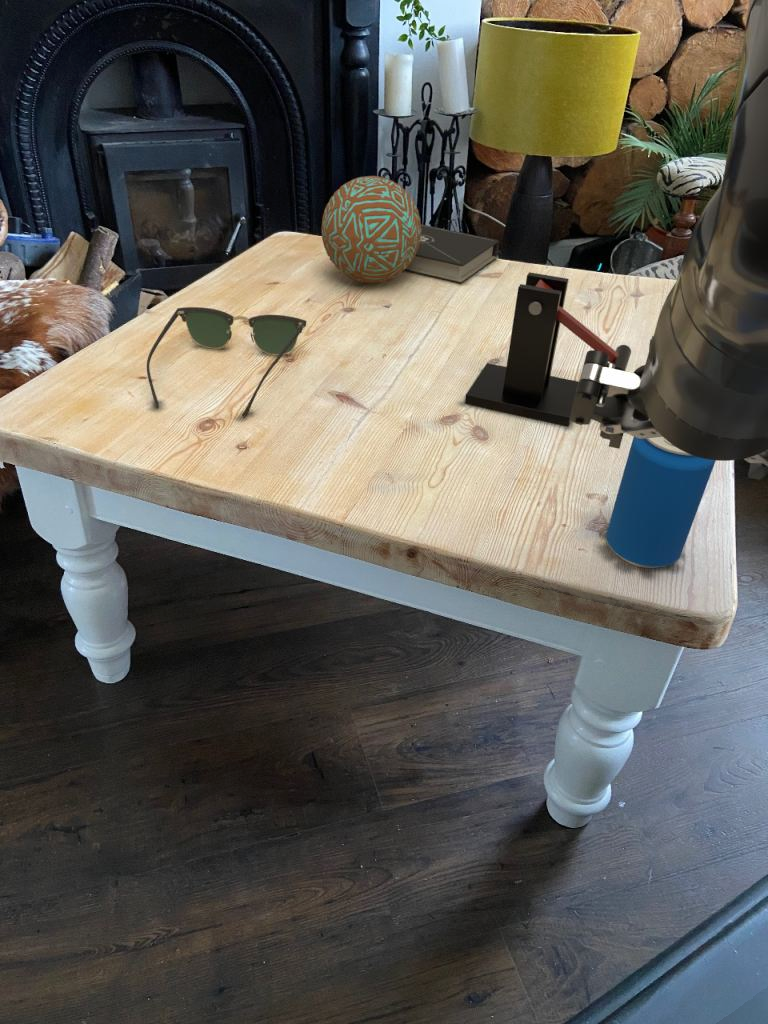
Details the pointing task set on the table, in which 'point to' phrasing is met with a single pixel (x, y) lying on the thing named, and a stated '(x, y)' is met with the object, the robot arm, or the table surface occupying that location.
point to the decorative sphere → (371, 229)
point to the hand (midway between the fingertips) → (685, 448)
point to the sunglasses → (216, 332)
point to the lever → (592, 337)
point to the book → (452, 254)
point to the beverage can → (656, 502)
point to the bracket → (530, 360)
